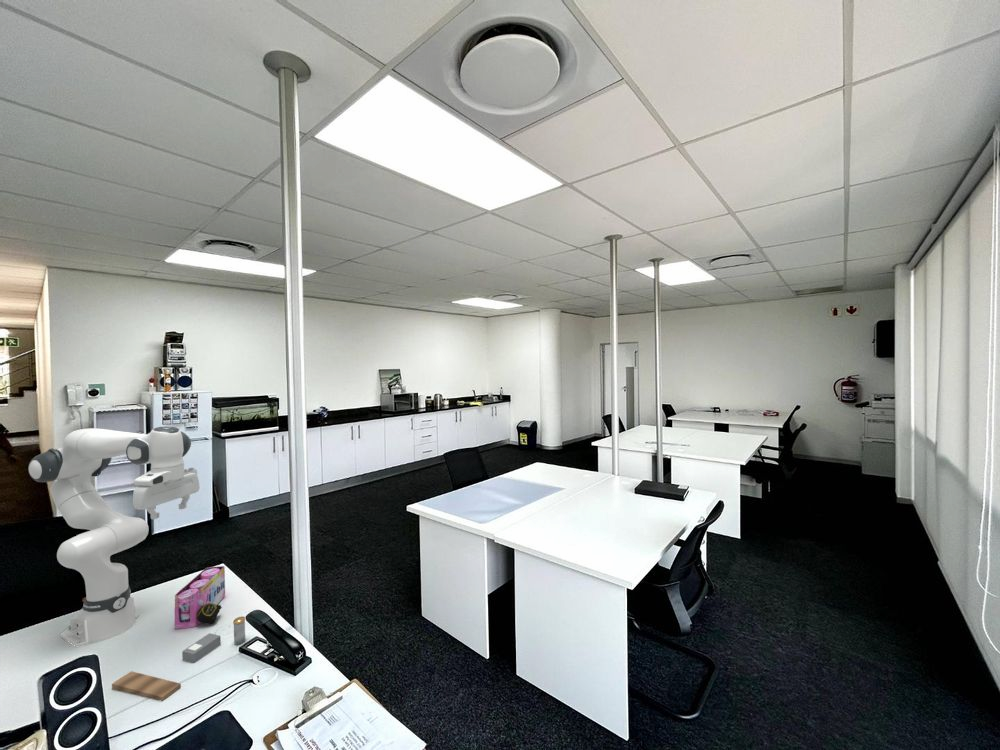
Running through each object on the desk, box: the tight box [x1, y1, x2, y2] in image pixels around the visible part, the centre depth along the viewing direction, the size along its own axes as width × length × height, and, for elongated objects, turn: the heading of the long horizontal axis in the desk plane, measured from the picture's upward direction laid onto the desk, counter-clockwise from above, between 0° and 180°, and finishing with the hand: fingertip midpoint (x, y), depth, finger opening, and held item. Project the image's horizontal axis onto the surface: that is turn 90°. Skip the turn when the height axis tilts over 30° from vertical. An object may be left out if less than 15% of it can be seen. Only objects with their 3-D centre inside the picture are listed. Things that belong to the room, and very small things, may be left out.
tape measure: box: [197, 603, 223, 625], centre depth 149 cm, size 7×7×4 cm
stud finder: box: [181, 632, 222, 664], centre depth 132 cm, size 5×9×4 cm, turn 164°
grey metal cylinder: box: [232, 616, 246, 646], centre depth 137 cm, size 3×3×9 cm
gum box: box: [174, 565, 226, 630], centre depth 156 cm, size 22×7×13 cm, turn 9°
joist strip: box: [111, 670, 182, 702], centre depth 117 cm, size 20×5×2 cm, turn 75°
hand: (169, 513), depth 137 cm, fingers open, 8 cm apart
